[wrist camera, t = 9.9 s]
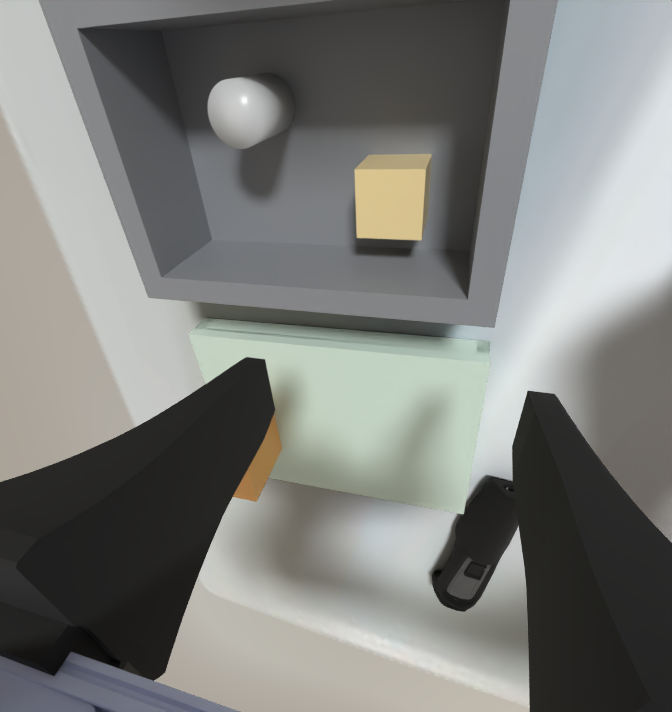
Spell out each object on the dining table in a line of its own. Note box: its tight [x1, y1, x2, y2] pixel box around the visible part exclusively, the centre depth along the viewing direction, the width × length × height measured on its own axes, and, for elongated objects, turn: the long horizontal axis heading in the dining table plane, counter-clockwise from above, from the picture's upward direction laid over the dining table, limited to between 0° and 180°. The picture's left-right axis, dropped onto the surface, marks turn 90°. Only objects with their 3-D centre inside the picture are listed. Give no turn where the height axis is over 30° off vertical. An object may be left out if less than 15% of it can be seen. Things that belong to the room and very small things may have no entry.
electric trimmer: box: [432, 478, 519, 612], centre depth 29 cm, size 4×16×3 cm, turn 175°
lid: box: [189, 318, 490, 514], centre depth 24 cm, size 16×12×6 cm
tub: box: [39, 0, 558, 328], centre depth 15 cm, size 14×10×5 cm
